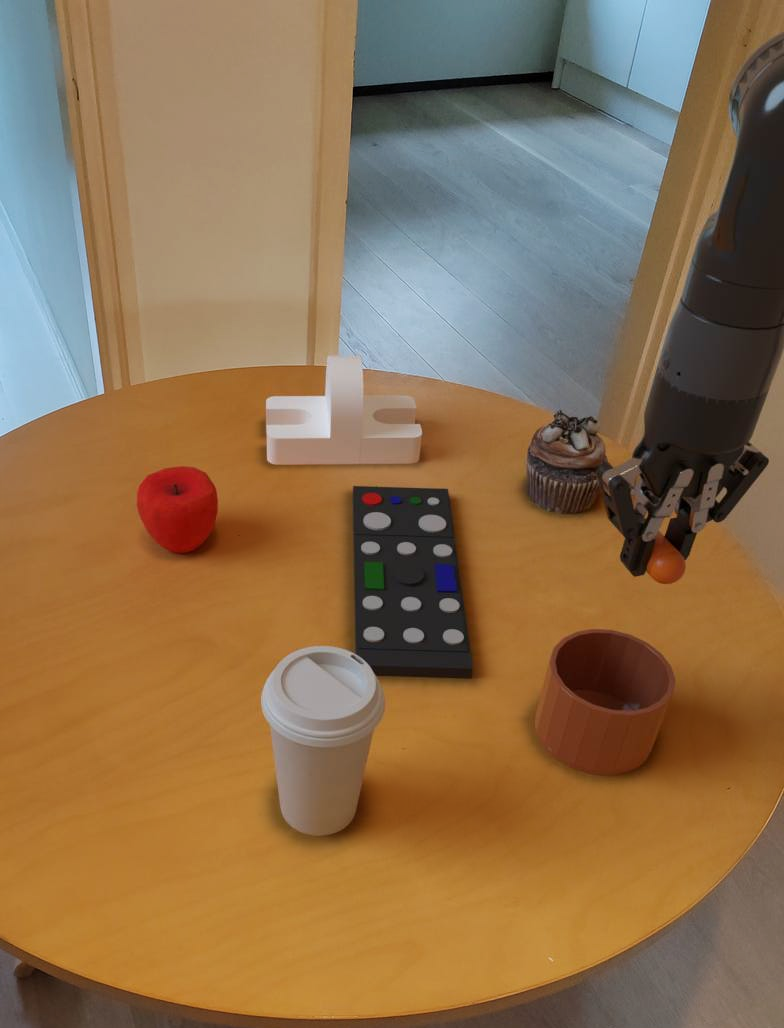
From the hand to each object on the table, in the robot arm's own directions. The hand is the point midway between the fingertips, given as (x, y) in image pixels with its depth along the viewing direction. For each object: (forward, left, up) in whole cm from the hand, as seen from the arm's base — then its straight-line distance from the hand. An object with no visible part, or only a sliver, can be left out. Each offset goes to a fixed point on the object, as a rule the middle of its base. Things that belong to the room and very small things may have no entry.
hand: (651, 565), depth 81 cm
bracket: (+48, -23, -19) cm, 57 cm away
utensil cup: (0, +1, -19) cm, 19 cm away
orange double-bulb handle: (+1, 0, 0) cm, 1 cm away
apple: (+49, +5, -19) cm, 53 cm away
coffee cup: (+14, +24, -19) cm, 34 cm away
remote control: (+26, -6, -19) cm, 33 cm away
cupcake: (+21, -31, -19) cm, 42 cm away
